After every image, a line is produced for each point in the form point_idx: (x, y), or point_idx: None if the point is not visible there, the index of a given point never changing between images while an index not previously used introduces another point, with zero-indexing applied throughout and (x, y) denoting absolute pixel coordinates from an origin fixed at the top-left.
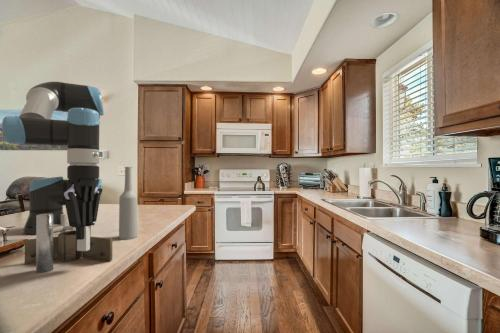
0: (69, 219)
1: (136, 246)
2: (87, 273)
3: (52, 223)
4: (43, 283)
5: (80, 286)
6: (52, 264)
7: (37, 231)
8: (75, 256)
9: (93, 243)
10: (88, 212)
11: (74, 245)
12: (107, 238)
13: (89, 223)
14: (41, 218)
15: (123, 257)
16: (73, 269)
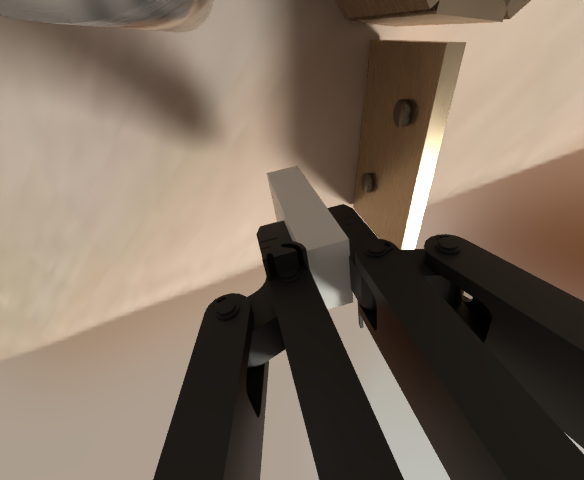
0: (192, 378)
1: (539, 156)
2: (231, 228)
3: (173, 15)
4: (82, 162)
5: (147, 295)
6: (198, 25)
7: None
8: (353, 16)
9: (402, 139)
10: (411, 398)
11: (381, 6)
12: (405, 242)
13: (362, 313)
14: None
15: None
16: (241, 137)
